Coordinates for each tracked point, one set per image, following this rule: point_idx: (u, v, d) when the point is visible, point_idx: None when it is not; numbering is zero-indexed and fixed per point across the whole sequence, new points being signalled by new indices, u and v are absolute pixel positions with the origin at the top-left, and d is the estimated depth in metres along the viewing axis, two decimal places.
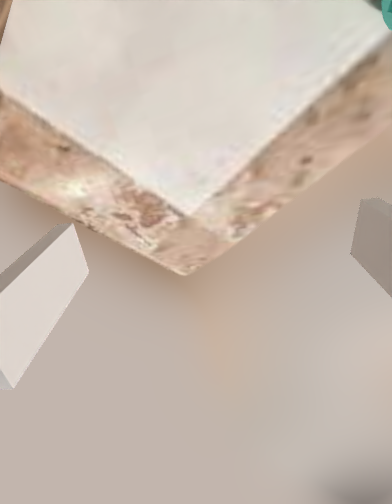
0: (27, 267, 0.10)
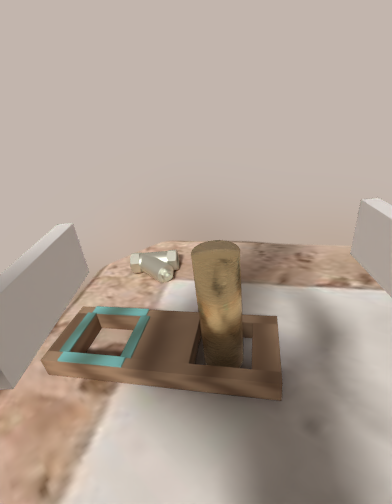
0: (27, 267, 0.10)
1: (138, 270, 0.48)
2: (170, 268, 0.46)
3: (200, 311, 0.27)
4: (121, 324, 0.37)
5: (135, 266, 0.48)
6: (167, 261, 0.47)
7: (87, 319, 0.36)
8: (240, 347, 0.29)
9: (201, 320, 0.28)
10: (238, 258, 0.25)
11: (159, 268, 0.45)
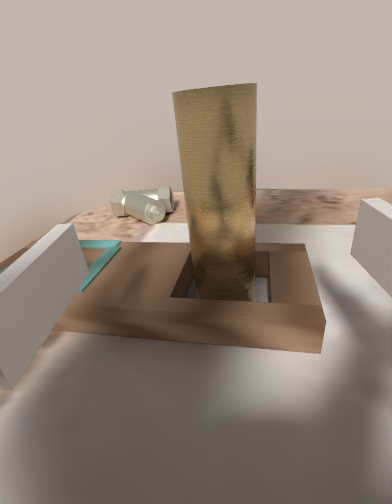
0: (27, 267, 0.10)
1: (121, 212, 0.38)
2: (161, 206, 0.36)
3: (188, 206, 0.17)
4: None
5: (117, 206, 0.38)
6: (158, 199, 0.37)
7: None
8: (252, 275, 0.19)
9: (190, 224, 0.17)
10: (254, 93, 0.14)
11: (147, 203, 0.35)
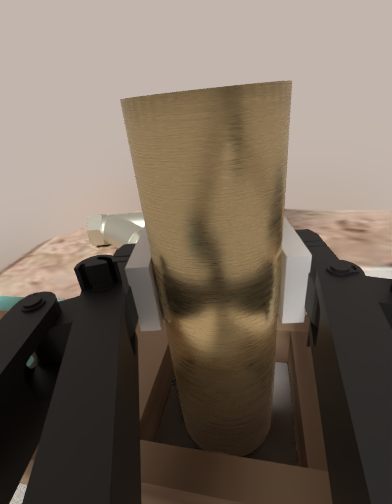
0: None
1: (100, 241, 0.31)
2: None
3: (162, 299, 0.09)
4: None
5: (95, 234, 0.30)
6: None
7: None
8: (269, 394, 0.12)
9: (166, 325, 0.10)
10: (289, 102, 0.07)
11: (131, 234, 0.27)
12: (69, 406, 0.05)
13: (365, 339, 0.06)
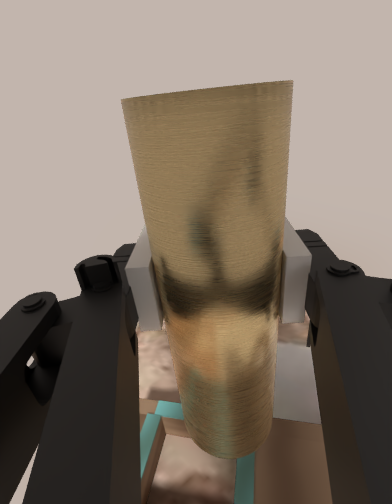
0: None
1: None
2: None
3: (162, 300, 0.09)
4: None
5: None
6: None
7: (148, 429, 0.22)
8: (270, 395, 0.12)
9: (167, 325, 0.10)
10: (290, 102, 0.07)
11: None
12: (69, 406, 0.05)
13: (365, 339, 0.06)
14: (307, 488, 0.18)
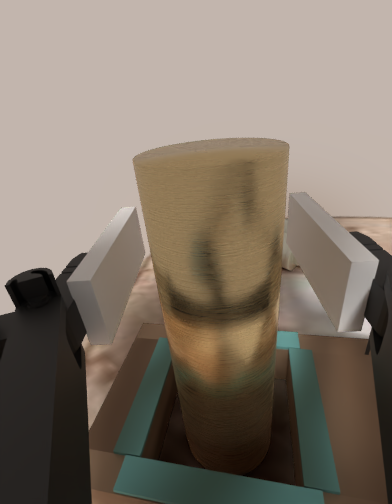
0: (114, 240, 0.11)
1: None
2: None
3: (168, 332, 0.10)
4: None
5: None
6: None
7: (162, 354, 0.16)
8: (268, 417, 0.12)
9: (172, 355, 0.11)
10: (287, 165, 0.07)
11: None
12: (2, 429, 0.05)
13: None
14: None
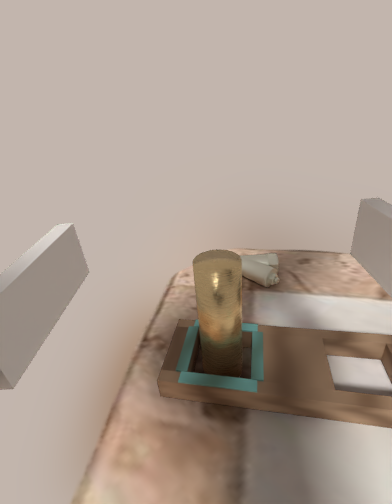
0: (27, 267, 0.10)
1: None
2: (275, 272, 0.44)
3: (200, 320, 0.27)
4: None
5: None
6: (269, 264, 0.46)
7: (191, 333, 0.33)
8: (239, 357, 0.29)
9: (201, 329, 0.28)
10: (240, 269, 0.24)
11: (267, 271, 0.43)
12: None
13: None
14: (296, 356, 0.29)
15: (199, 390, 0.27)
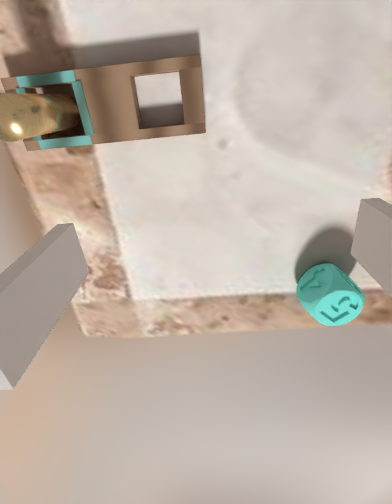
0: (27, 267, 0.10)
1: None
2: None
3: None
4: (54, 85, 0.38)
5: None
6: None
7: None
8: (71, 118, 0.38)
9: None
10: (29, 121, 0.28)
11: None
12: None
13: None
14: (112, 104, 0.37)
15: None
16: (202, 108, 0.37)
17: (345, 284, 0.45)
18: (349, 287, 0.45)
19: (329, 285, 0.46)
